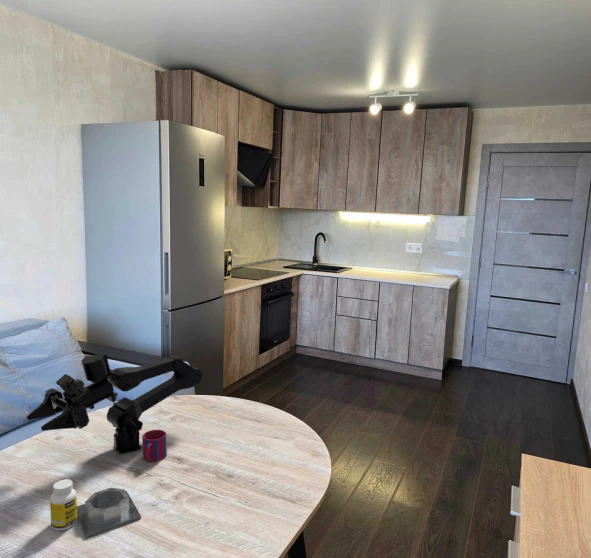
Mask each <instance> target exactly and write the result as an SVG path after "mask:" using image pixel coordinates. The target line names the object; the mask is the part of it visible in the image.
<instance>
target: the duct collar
mask: <svg viewBox="0 0 591 558" xmlns="http://www.w3.org/2000/svg"><path fill="white" fill-rule="evenodd" d="M77 519H78V521H79V523H80V525H81V528H82V531H83V533H84V537H85V539H88V538H91V537H94V536H97V535H99V534H103V533H104V532H107V531H110V530H113V529H116V528H118V527H119V528H120V527H122V526H125V525H126V524H130V523H133V522H136V521H138V520H141V519H142V515H141V513H140V511H139V510H138V508H137V506H136V505H135V503H134V501H133V500H132V498H131V496H130V494H129V492H128V490H125V489H124V488H116V487H109V488H105V489H103V490H98V491H96V492H94V493H93V494H92V495H90V496H89V497H88V498H87V499H86V501H85V502H84V503H83V504H81V505H77Z"/></svg>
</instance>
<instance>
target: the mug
mask: <svg viewBox="0 0 591 558" xmlns="http://www.w3.org/2000/svg"><path fill="white" fill-rule="evenodd" d="M141 439H142V458H143V460H144V462H147V463H156V462H157V463H158V462H160V461H163V460H164V459H165V458H166V457H167V456H168V455H167V454H168V451H167V444H168V443H167V432H166V431H165V430H163V429H151V430H148V431H146V432H144V433H143V434H142V438H141Z"/></svg>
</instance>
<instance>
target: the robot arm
mask: <svg viewBox="0 0 591 558" xmlns="http://www.w3.org/2000/svg"><path fill="white" fill-rule="evenodd" d="M80 361H81V365H82V368H83V373H84V376H85V379H86V381H88V382H91V383H89V385H86V386H85V383H84V382H83V380H81V379H79V378H78V379H75V378H74V377H72V376H70V375H69V374H66V373H65V374H64V375H62V376H61V377H60V378H59V379H57V380H56V381H55V383H56V385H57V386H59V387H60V388H61V389H62V391H60V390H58V389H57V388H56V389H55V388H53V387H52V388H50V389H47V390H45V394H44V398H43V401H42V402H41V403H40V404H39V405H38V406H37V407H36V408H35V409H33V411H31V412H30V413H29V414H28V415H27V416H26V420H28V421H33V420H37V419H43V418H46V417H51V416H54V418H53V419H51V420H49V421H47V422H46V423H44V424H43V425H41V427H40V430H41V431H42V432H44V431H53V430H64V429H66V430H67V429H75V430H76V429H77V428H78V429H80V430H81V429H83V428H85V427H87V426H88V424H89V422H90V419H89V415H88V410H87V409H90V410H94V409H95V405H96V404H98V403H101V402H102V401H105V400H108V401H109V402H112V405H111V406H110V407H109V408H108V410H107V413H106V420H107V422H109V423H110V424H111V425H112V427H114V428H115V429H114V432H115V433H114V434H113V447H114V449H115V450H116V451H117V452H118V454H119V455H122V454H126V453H129V452H133V451H137V450H140V449H142V445H141V444H140V431H142V428H143V425H144V422H142V421H141V420H140V417H141V416H142V414H143V413H145V412H146V411H148V410H149V409H152V407H154V406H156V405H157V404H159V403H161V402H162V401H164V400H167V398H169V397H171V396H172V395H174V394H176V393H177V392H179V391H181V390H188V389H191V388H193V387H196V386H198V385H200V383H202V379H203V372H202V370H201V369H199V368H197V367H194V366H192V365H189V364H188V363H187V362H185V361H184V360H183V359H181V358H180V357H177V356H174V355H170V356H168V357H166V358H163V359H160V360H157V361H153V362H150V363H146V364H143V365H142V364H141V365H140V366H124V367H117V368H114V369H110V364H109V357H108V354H107V353H101V354H93V355H88V356H85V357H84V358H83V359H82V360H80ZM168 373H173V374H172V376H171V377H170V378H169V379H167V380H166V381H164V382H162V383H160V384H159V385H157V386H155V387H154V388H152V389H150V390H148V391H146V392H145V393H143V394H141V395H140V396H138V397H136V398H134V399H130V398H128V397H122V398H121V399H119V401H117V402H116V399H117V396H118V393H117V392H116V391H115V389H117V390H119V391H121V392H129V391H131V390H132V389H135V388H137V387H138V386H140V384H141V383H142V382H144V381H146V380H149V379H150V380H151V379H153V378H156V377H158V376H159V377H160V376H162V375H165V374H168ZM114 388H115V389H114ZM56 413H60V414H59V415H56ZM55 415H56V416H55Z"/></svg>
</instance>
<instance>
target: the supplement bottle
mask: <svg viewBox="0 0 591 558" xmlns="http://www.w3.org/2000/svg"><path fill="white" fill-rule="evenodd" d="M73 483H74V482H73V480H71V479H69V478H68V479H67V478H65V479H61V480H58V481H56V482H55V483H54V484H53V486H52V493H51V495H50V498H49V508H50V525H51V528H52V529H53V530H54V531H65V530H68V529H70V528H72V527H74V525H76V523H77V521H78V515H77V506H78V505H77V504H78V503H77V501H78V500H77V491H76V489H74V488H73V486H74V485H73Z"/></svg>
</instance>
